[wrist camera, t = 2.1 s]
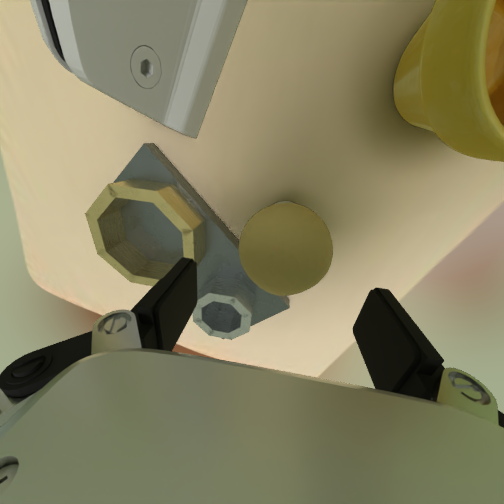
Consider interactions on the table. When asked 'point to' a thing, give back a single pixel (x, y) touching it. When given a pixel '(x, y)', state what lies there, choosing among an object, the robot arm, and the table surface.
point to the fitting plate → (177, 243)
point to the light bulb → (285, 248)
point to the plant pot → (457, 77)
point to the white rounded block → (145, 51)
